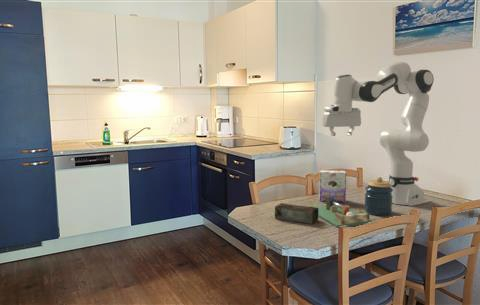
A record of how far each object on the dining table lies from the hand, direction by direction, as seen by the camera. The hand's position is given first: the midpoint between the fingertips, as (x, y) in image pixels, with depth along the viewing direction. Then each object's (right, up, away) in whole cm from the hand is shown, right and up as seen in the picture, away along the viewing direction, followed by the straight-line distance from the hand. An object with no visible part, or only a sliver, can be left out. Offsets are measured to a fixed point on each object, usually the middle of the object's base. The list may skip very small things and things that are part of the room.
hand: (341, 135), depth 200 cm
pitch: (-4, -39, -8) cm, 40 cm away
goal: (0, -40, -19) cm, 45 cm away
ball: (-1, -37, -18) cm, 41 cm away
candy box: (0, -35, +19) cm, 40 cm away
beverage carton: (-25, -40, -14) cm, 49 cm away
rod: (-4, -37, -7) cm, 38 cm away
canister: (+17, -38, -2) cm, 42 cm away
